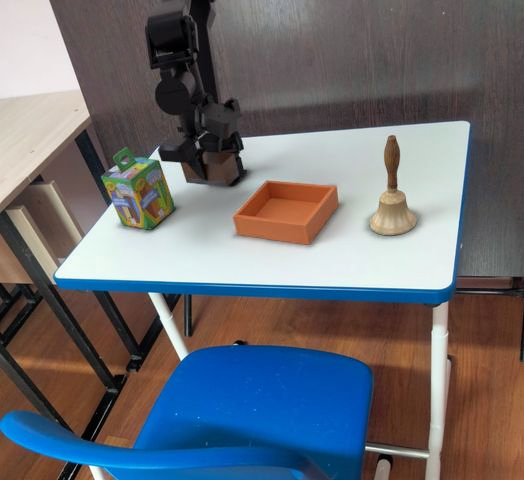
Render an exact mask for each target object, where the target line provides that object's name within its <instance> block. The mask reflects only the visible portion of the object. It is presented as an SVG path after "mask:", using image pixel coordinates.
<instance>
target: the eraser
mask: <svg viewBox="0 0 524 480" xmlns="http://www.w3.org/2000/svg"><path fill="white" fill-rule="evenodd" d="M203 161H204V165H205V169H206V174H207V180H206V181H203V180H201V179H200V178H199V176H198V175H197V174H196V173H195V172H194V171H193V170H192V169H191V168H190V167H189V166H188V165H187V164H186V163H179V164H180V167H181V170H182V172H183V176H184V179H185V182H186V184H197V185H206V186H217V187H226V188H227V187H230V186H229V185H230V184H231V183H232V182H233V181H234V180H235V179H236V178H237V177H238V176H239V172H238V168H237V164H236V160H235V156H234V153H217V152H204V154H203Z"/></svg>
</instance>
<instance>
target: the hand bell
mask: <svg viewBox="0 0 524 480" xmlns="http://www.w3.org/2000/svg"><path fill="white" fill-rule="evenodd" d="M383 161H384V166H385V170H386V174H387V185H386V186H387V190H385V191H384V192H382V193H381V194H380V196H379V199H378V207H377V211H376V212H375V213H374V214H373V215H372V216H371V218H370V220H369V228H370V229H371V231H373V232H374V233H375V234H380V235H383V236H397V235H402V234H406V233H407V232H409V231H411V230H412V229H414V228H415V227H416V225H417V224H418V218H417V215H415V213H414V212H413V211H412V210H410V208H409V207H408V203H407V202H408V201H407V195H406V193H405V192H404V191H402V190H400V189H398V187H399V186H398V171H399V166H400V163H401V149H400V144H399V143H398V141H397V136H396V135H394V134H391V135H389V136H387V139H386V143H385V146H384V150H383Z"/></svg>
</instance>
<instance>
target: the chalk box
mask: <svg viewBox="0 0 524 480" xmlns="http://www.w3.org/2000/svg"><path fill="white" fill-rule="evenodd" d="M123 157H125V158H124V159H123V160H122V158H123ZM112 158H113V161H114V163H115V165H114V166H112V167H111V168H110V169H108V170H107V171H105V172H104V173H103V174H101V176H100V178H101V181H102V182H103V185H104V186H105V190H106V192H107V193H108V196H109V198H110V200H111V202H112V204H113V207H114V210H115V211H116V214H117V216H118V218H119V220H120V223H121V225H122V226H127V227H133V228H139V229H145V230H150V231H151V230H153V229H154V228H155V227H156V226H157V225H158V224H159V223H160V222H162V221H163V220H164V219H166V217H168V216H169V215H170V214H171V213H172V212H173V211H175V210H177V209H176V206H175V202H174V199H173V197H172V194H171V191H170V187H169V185H168V182H167V179H166V176H165V173H164V171H163V167H162V164H161V160H159V159H153V158H147V157H141V156H139V157H134V155H133V153H132V152H131V150H130V148H129V147H128V146H125V147H124V148H122V149H121V150H120V151H118V152H117V153H115V155H113V156H112Z"/></svg>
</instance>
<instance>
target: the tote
mask: <svg viewBox="0 0 524 480" xmlns="http://www.w3.org/2000/svg"><path fill="white" fill-rule="evenodd" d="M339 206H340V202H339V194H338V186H337V185H329V184H328V185H327V184H314V183H303V182H302V183H301V182H292V181H281V180H279V181H278V180H265V181H264V182H263V183H262V184H261V186H259V188H257V190H256V191H255V192H254V193H253V194H252V195H250V197H249V198H248V199H247V200H246V201H245V203H243V205H242V206H241V207H240V208H239V209H238V210H237V211H236V212H235V213H234V214H233V215H232V219H233V225H234V228H235V230H236V235H238V236H244V237H252V238H258V239H264V240H273V241H279V242H286V243H293V244H298V245H299V244H300V245H307V246H310V244H311V243H312V242H313V240H314V239H315V237H316V236H317V235H318V234H319V232H320V231H321V230H322V228H324V226H325V224H326V223H327V222H328V220H329V219H330V218H331V216H332V215H333V214H334V212H335V211H336V210H337V209H338V207H339Z"/></svg>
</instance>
